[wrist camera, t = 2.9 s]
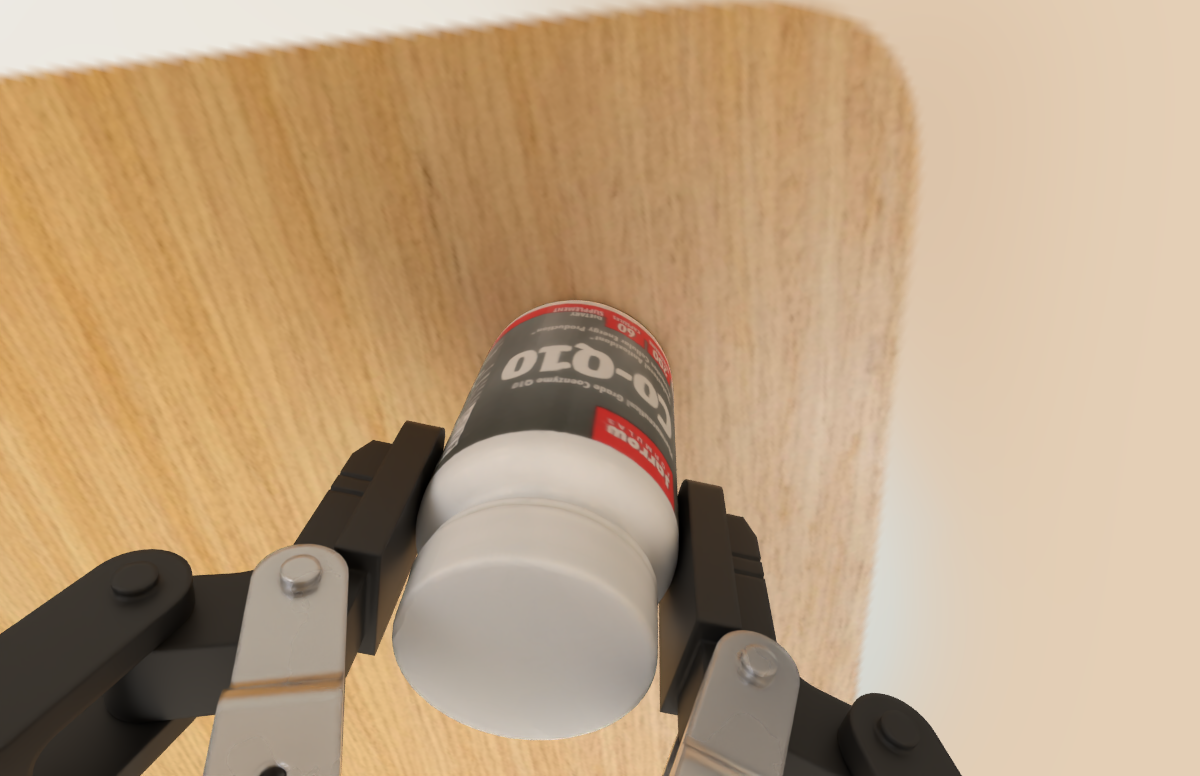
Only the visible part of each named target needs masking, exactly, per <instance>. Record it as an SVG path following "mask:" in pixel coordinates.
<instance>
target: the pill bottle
mask: <svg viewBox="0 0 1200 776" xmlns="http://www.w3.org/2000/svg"><path fill="white" fill-rule="evenodd" d="M416 548H417V554H418V555H417V557H416V558H415V560H414V562H413V564H412V567H411V570H410V574H409V579H408V582H407V585H406V588H405V591H404V594H403V596H402V599H401V602H400V604H399V607H398V610H397V613H396V616H395V619H394V623H393V634H392V641H393V649H394V655H395V657H396V661H397V663H398V665H399V667H400V670H401V672H402V673H403V675H404V677H405V678H406V680H407V681H408V682H409V684H410V685H411V686H412V688H413V689H414V690H415V691H416V692H417V693H418V694H419V695H420V696H421V697H423V698H424V699H425V700H426V701H427V702H428V703H429V704H430V705H431V706H433V707H434V708H436V709H438V710H439V711H441V712H442V713H444V714H445V715H447V716H448V717H450V718H452V719H454V720H456V721H458V722H459V723H462V724H464V725H467V726H469V727H471V728H474V729H477V730H480V731H483V732H486V733H490V734H493V735H497V736H502V737H507V738H513V739H524V740H557V739H565V738H571V737H576V736H580V735H583V734H587V733H591V732H595V731H597V730H600V729H602V728H604V727H607V726H609V725H611V724H613V723H614V722H616V721H618V720H619V719H621V718H622V717H623V716H625V715H626V714H627V713H629V712H630V711H631V710H632V709H633V708H634V707H636V706H637V705H638V703H639V702H640V701H641V699H642V698H643V697H644V696H645V694H646V693H647V691H648V689H649V688H650V686H651V683H652V681H653V678H654V675H655V671H656V666H657V656H658V619H657V612H658V603H659V602H660V601H661V599H662V598H663V596H664V595H665V593H666V592H667V590H668V588H669V586H670V584H671V582H672V579H673V576H674V573H675V569H676V566H677V561H678V553H679V518H678V496H677V474H676V451H675V427H674V394H673V381H672V374H671V370H670V367H669V363H668V361H667V358H666V356H665V354H664V352H663V350H662V348H661V346H660V345H659V343H658V342H657V340H656V339H655V338H654V337H653V335H652V334H651V333H650V332H649V331H648V330H647V329H646V328H645V327H644V326H642V325H641V324H640V323H639V322H637V321H636V320H635V319H633V318H632V317H630V316H628V315H627V314H625V313H623V312H621V311H619V310H617V309H615V308H613V307H610V306H607V305H604V304H601V303H596V302H591V301H585V300H567V301H557V302H553V303H548V304H545V305H542V306H539V307H536V308H534V309H532V310H529V311H528V312H526V313H524V314H522V315H521V316H519V317H518V318H517V319H515V320H514V321H513V322H512V323H510V324H509V325H508V326H507V327H506V328H505V329H504V330H503V332H502V333H501V334H500V335H499V337H498V338H497V340H496V341H495V343H494V344H493V346H492V348H491V349H490V351H489V353H488V355H487V357H486V359H485V361H484V363H483V365H482V368H481V370H480V372H479V374H478V376H477V379H476V380H475V382H474V384H473V387H472V389H471V391H470V393H469V395H468V397H467V400H466V402H465V404H464V407H463V409H462V411H461V413H460V415H459V417H458V419H457V421H456V423H455V426H454V429H453V431H452V433H451V435H450V438H449V440H448V441H447V444H446V446H445V448H444V451H443V453H442V455H441V457H440V459H439V461H438V463H437V465H436V468H435V470H434V472H433V474H432V476H431V479H430V481H429V483H428V485H427V488H426V490H425V493H424V495H423V498H422V501H421V504H420V508H419V511H418V515H417V521H416Z"/></svg>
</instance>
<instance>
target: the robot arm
mask: <svg viewBox="0 0 1200 776" xmlns="http://www.w3.org/2000/svg"><path fill="white" fill-rule="evenodd" d="M444 440H445V429H444V428H441V427H436V426H431V425H426V424H421V423H417V422H412V421H406V422H405V423H404V425H403V426H402V428H401V430H400V432H399V433H398V435H397V437H396V439H395V440H394V442H393V444H390V443H385V442H380V441H375V440H373V441H371V442H370V443H368V444H366V445H365V446H363V447H362V448H360V449H359V450H357V451H356V452H354V453H352V455H351V456H350V458H349V460H348V461H347V463H346V464H345V466H344V467H343V469H342V470H341V473H340V475H338V477H337V478H336V480H335V481H334V483H333V484H332V486H331V490H329V491H328V492H327V494H326V495H325V497H324V498H323V500H322V501H321V503H320V504H319V506H318V508H317V509H316V511H315V512H314V514H313V515H312V517H311V518H310V520H309V521H308V523H307V525H306V526H305V528H304V529H303V531H302V532H301V534H300V535H299V537H298V538H297V540H296V542H295V543H294V545H292V546H287V547H284V548H281V549H279V550H277V551H275V552H273V553H271V554H269V555H268V556H266V557H265V558H264V559H263V560H262V561H261V562H260V563H259V564H258V565H257V566H256V568H255V569H254V570H251V571H247V572H241V573H232V574H215V575H197V576H192V571H191V567H190V565H189V564H188V562H187V561H186V560H185V559H184V558H183V557H181V556H179V555H177V554H175V553H172V552H169V551H164V550H155V549H149V550H139V551H133V552H129V553H125V554H122V555H119V556H116V557H114V558H112V559H110V560H108V561H106V562H104V563H102V564H101V565H99V566H97V567H96V568H95V569H93V570H92V571H90V572H89V573H87V574H86V575H85V576H83V577H82V578H80V579H79V580H77V581H76V582H74V583H73V584H72V585H70V586H69V587H67V588H66V589H64V590H63V591H62V592H60V593H59V594H57V595H56V596H54V597H53V598H52V599H50V600H49V601H47V602H46V603H44V604H43V605H41V606H40V607H39V608H37V609H36V610H34V611H33V612H31V613H30V614H29V615H27V616H26V617H24V618H23V619H21V620H20V621H19V622H17V623H16V624H14V625H13V626H11V627H10V628H8V629H7V630H6V631H4V632H3V633H1V634H0V776H140V775H141V774H142V773H143V772H144V771H145V770H146V769H147V768H148V767H149V766H150V765H151V764H152V763H153V762H154V761H155V760H156V759H157V758H158V757H159V756H160V755H161V754H162V753H163V752H164V751H165V750H166V749H167V748H168V746H169V745H170V744H171V743H172V742H173V741H174V740H175V739H176V738H177V737H178V736H179V735H180V734H181V733H182V732H183V731H184V730H185V729H186V728H187V727H188V726H189V725H190V724H191V723H192V722H193V721H194V719H195V718H196V717H199V716H208V715H215V719H214V724H213V729H212V734H211V738H210V743H209V748H208V753H207V758H206V763H205V768H204V773H203V776H341V769H342V746H343V722H344V698H345V678H346V676H347V674H348V672H349V670H350V668H351V665H352V663H353V661H354V659H355V656H356V654H357V652H358V653H363V654H368V655H374V656H375V654H376V651H377V649H378V646H379V644H380V642H381V639H382V637H383V634H384V632H385V630H386V627H387V625H388V622H389V620H390V618H391V615H392V613H393V610H394V608H395V606H396V603H397V601H398V598H399V596H400V594H401V591H402V589H403V586H404V584H405V582H406V579H407V577H408V574H409V572H410V570H411V567H412V564H413V562H414V560H415V558H416V555H417V548H416V521H417V515H418V511H419V508H420V504H421V501H422V498H423V495H424V493H425V490H426V488H427V485H428V483H429V481H430V479H431V476H432V474H433V472H434V470H435V468H436V465H437V463H438V461H439V459H440V457H441V455H442V453H443V449H444ZM678 518H679V553H678V561H677V566H676V569H675V573H674V576H673V579H672V582H671V584H670V586H669V588H668V590H667V592H666V593H665V595H664V596H663V598H662V599H661V601H660V602H659V646H660V712H663V713H669V714H674V715H678V735H677V737H676V739H675V742H674V744H673V746H672V749H671V751H670V754H669V757H668V760H667V763H666V766H665V768H664V771H663V774H662V776H962V775H961V774H960V772H959V771H958V769H957V767H956V766H955V764H954V763H953V761H952V759H951V758H950V756H949V754H948V753H947V751H946V750H945V748H944V746H943V745H942V743H941V742H940V740H939V738H938V737H937V735H936V733H935V732H934V730H933V729H932V727H931V726H930V725H929V724H928V722H927V721H926V720H925V719H924V718H923V717H922V716H921V715H920V714H919V713H918V712H917V711H916V710H914V709H913V708H912V707H910V706H909V705H907V704H906V703H904V702H903V701H901V700H899V699H896V698H894V697H892V696H889V695H885V694H879V693H870V694H865V695H863V696H861V697H859V698H858V699H857V700H856V701H855V702H854V704H853V705H852V706H851V705H849V704H847V703H845V702H843V701H841V700H839V699H837V698H835V697H833V696H831V695H829V694H827V693H825V692H823V691H821V690H819V689H817V688H815V687H813V686H811V685H810V684H809V683H807V682H806V681H804V680H803V679H802V678H801V677H799V672H798V669H797V666H796V664H795V662H794V661H793V659H792V658H791V656H790V655H789V654H788V653H787V651H786V650H785V649H784V648H783V647H781V646H780V645H779V644H778V643H777V641H776V636H775V631H774V626H773V620H772V615H771V610H770V604H769V599H768V594H767V588H766V583H765V579H763V577H764V572H763V567H762V562H760V559H761V557H760V551H759V546H758V541H757V537H756V535H755V534H754V532H753V531H752V530H751V528H750V527H749V525H748V524H747V522H746V521H745V519H744V518H743V517H739V516H734V515H730V514H726V508H725V501H724V494H723V489H722V487H720V486H715V485H710V484H706V483H701V482H696V481H691V480H687V479H685V480H684V481H683V483H682V485H681V487H680V490H679V493H678Z"/></svg>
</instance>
